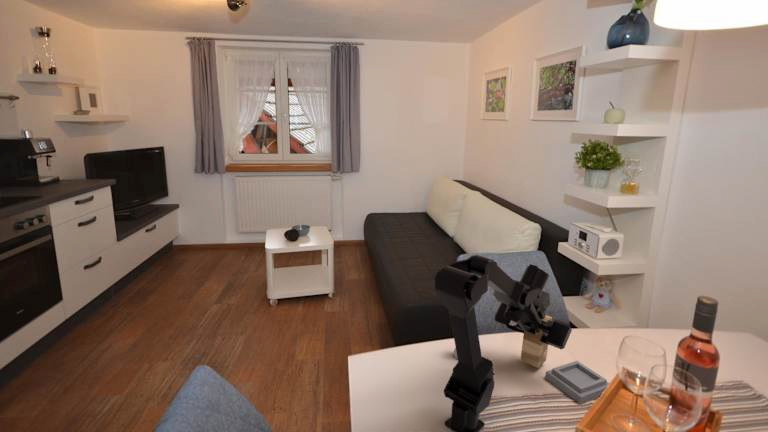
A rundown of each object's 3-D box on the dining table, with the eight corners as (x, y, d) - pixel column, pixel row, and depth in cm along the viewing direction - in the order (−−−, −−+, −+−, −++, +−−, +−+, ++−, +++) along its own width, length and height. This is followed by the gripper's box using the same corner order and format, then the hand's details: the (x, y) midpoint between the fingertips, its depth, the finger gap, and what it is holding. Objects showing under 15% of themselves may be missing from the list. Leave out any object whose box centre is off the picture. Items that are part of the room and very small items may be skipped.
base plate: (580, 404, 101) (582, 392, 100) (545, 378, 110) (546, 367, 110) (611, 392, 105) (613, 381, 105) (574, 368, 115) (576, 357, 114)
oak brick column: (537, 367, 112) (544, 319, 109) (520, 359, 116) (526, 312, 112) (546, 360, 116) (552, 313, 112) (528, 352, 119) (535, 306, 116)
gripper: (574, 295, 101) (584, 322, 111) (503, 273, 114) (519, 299, 124) (556, 337, 97) (568, 361, 108) (485, 309, 110) (502, 333, 120)
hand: (538, 336), depth 115 cm, fingers closed on oak brick column, 5 cm apart
